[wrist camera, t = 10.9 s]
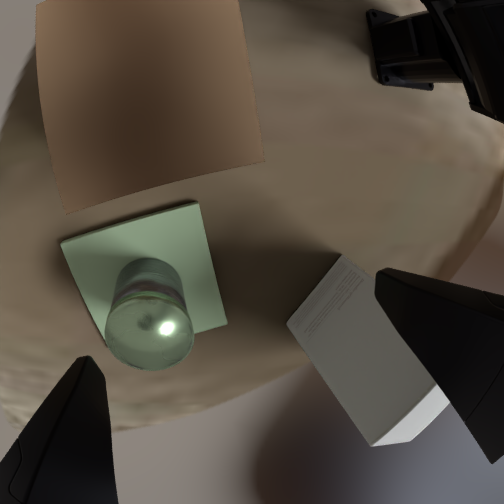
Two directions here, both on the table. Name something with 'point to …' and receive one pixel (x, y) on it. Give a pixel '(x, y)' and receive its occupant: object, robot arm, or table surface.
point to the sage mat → (148, 246)
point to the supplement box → (365, 357)
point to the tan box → (143, 94)
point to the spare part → (149, 317)
